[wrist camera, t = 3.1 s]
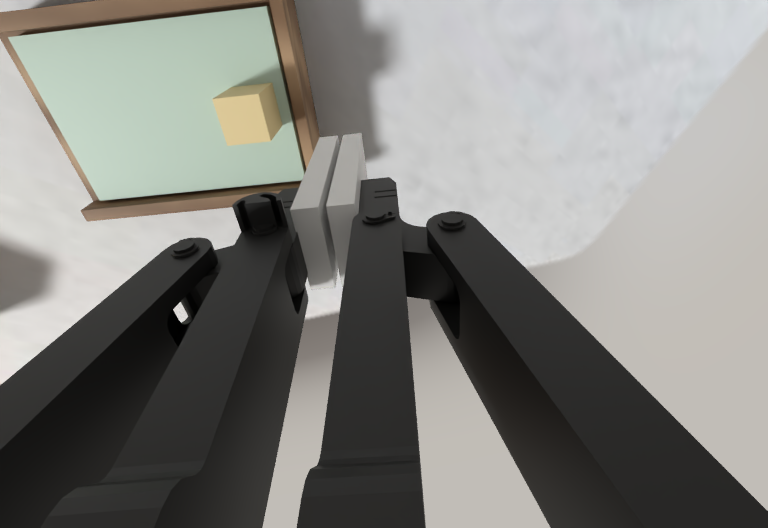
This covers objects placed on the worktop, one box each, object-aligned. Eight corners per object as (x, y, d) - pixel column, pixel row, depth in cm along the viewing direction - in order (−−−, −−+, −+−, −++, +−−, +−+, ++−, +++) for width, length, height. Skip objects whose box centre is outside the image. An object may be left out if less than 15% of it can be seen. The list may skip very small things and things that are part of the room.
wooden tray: (21, 14, 28) (-37, 17, 24) (290, -19, 27) (276, -22, 24) (118, 197, 37) (86, 221, 33) (327, 176, 36) (321, 198, 32)
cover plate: (16, 36, 27) (-47, 42, 23) (269, 5, 26) (249, 7, 22) (105, 196, 33) (68, 223, 29) (306, 176, 33) (297, 200, 29)
